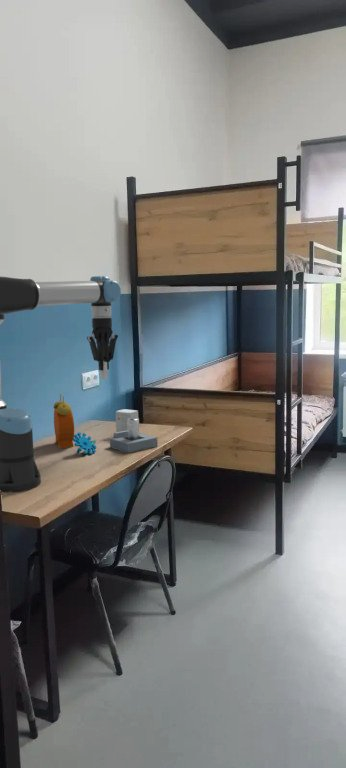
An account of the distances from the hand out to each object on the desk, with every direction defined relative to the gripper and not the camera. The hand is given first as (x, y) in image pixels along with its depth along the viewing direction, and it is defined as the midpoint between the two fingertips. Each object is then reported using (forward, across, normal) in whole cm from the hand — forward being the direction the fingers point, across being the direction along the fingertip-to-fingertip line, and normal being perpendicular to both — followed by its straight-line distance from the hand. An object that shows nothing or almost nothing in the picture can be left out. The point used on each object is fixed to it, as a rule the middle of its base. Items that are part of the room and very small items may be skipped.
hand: (104, 378), depth 228 cm
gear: (+27, -12, -5) cm, 30 cm away
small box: (+27, +15, +7) cm, 31 cm away
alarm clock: (+27, -12, +12) cm, 32 cm away
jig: (+26, +6, -10) cm, 29 cm away
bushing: (+26, +6, -10) cm, 29 cm away
